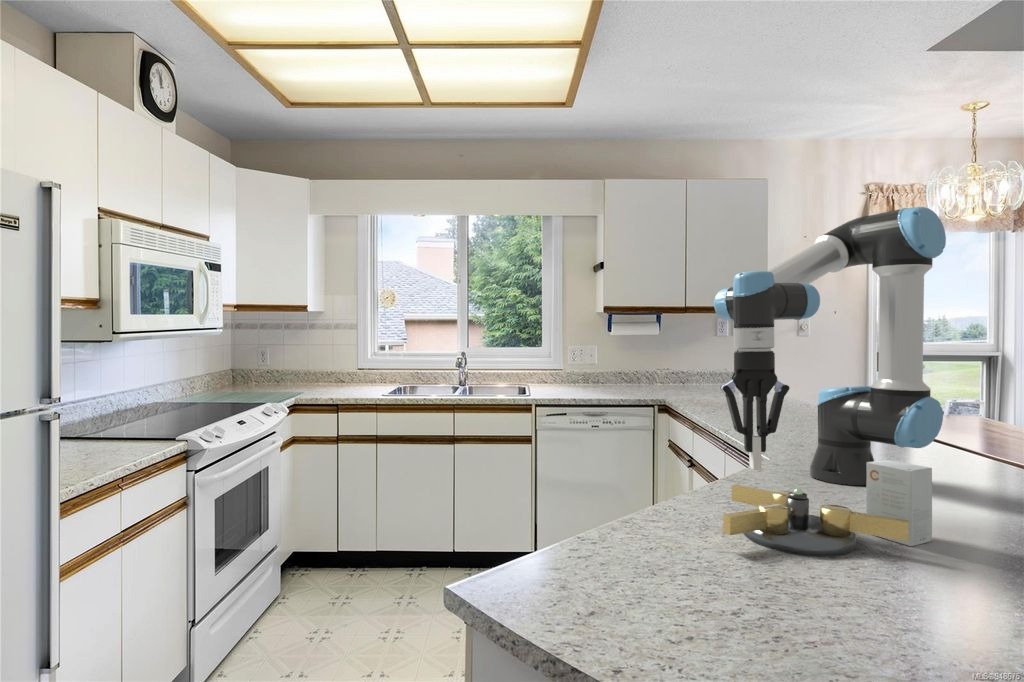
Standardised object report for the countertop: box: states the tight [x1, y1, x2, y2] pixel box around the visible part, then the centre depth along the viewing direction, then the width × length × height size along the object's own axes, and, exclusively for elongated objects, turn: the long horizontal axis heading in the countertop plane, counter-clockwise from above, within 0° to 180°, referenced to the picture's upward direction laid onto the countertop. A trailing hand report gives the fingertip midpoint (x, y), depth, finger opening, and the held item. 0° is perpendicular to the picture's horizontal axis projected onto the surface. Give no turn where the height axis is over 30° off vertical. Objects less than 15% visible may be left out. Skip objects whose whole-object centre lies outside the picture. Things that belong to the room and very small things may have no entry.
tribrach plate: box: [743, 488, 857, 557], centre depth 107 cm, size 18×18×9 cm
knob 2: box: [722, 503, 788, 536], centre depth 103 cm, size 13×5×4 cm, turn 114°
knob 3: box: [819, 504, 909, 541], centre depth 101 cm, size 13×5×4 cm, turn 54°
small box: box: [865, 459, 933, 547], centre depth 108 cm, size 8×6×13 cm
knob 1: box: [731, 483, 791, 507], centre depth 116 cm, size 13×5×4 cm, turn 40°
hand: (755, 468), depth 120 cm, fingers closed
